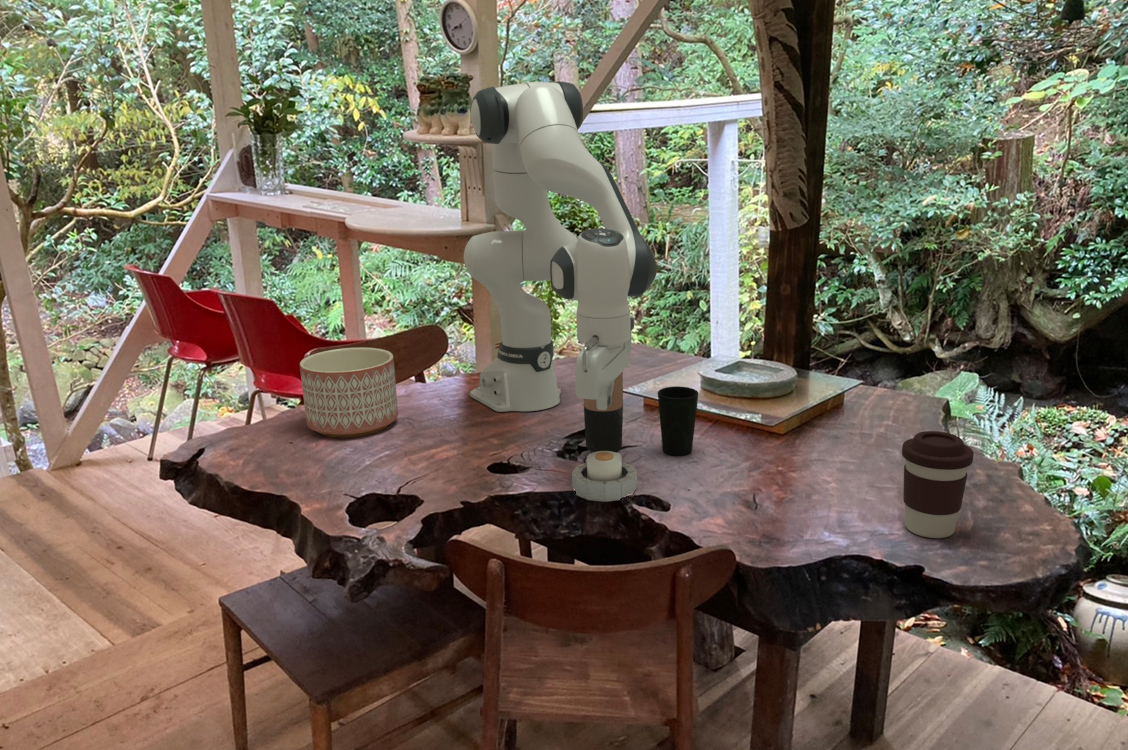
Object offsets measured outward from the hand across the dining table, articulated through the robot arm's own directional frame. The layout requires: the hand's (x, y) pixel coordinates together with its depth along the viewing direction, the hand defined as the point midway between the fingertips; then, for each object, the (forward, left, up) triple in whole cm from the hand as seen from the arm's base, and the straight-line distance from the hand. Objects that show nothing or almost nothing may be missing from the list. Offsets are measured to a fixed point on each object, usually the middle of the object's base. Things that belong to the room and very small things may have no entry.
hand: (604, 407), depth 150 cm
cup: (-2, +22, -15) cm, 26 cm away
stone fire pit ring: (0, 0, -15) cm, 15 cm away
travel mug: (-14, +14, -15) cm, 25 cm away
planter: (-62, -14, -15) cm, 65 cm away
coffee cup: (+47, +24, -15) cm, 55 cm away
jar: (0, 0, -14) cm, 14 cm away
